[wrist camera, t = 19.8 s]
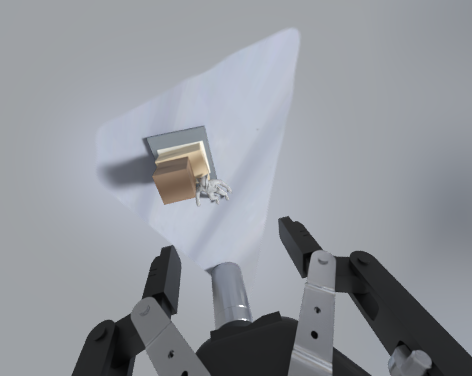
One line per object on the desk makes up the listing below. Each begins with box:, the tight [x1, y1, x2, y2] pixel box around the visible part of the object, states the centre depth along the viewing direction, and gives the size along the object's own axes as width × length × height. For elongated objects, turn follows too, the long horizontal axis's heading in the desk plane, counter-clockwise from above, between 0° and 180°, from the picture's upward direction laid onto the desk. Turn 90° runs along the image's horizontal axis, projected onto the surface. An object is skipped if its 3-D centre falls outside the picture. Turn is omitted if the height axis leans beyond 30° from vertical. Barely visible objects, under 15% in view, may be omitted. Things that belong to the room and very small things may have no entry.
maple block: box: [155, 143, 210, 183], centre depth 35 cm, size 6×8×5 cm
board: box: [147, 126, 217, 186], centre depth 38 cm, size 12×11×1 cm
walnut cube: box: [152, 156, 196, 205], centre depth 31 cm, size 5×5×6 cm
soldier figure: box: [196, 174, 232, 206], centre depth 38 cm, size 8×5×12 cm
